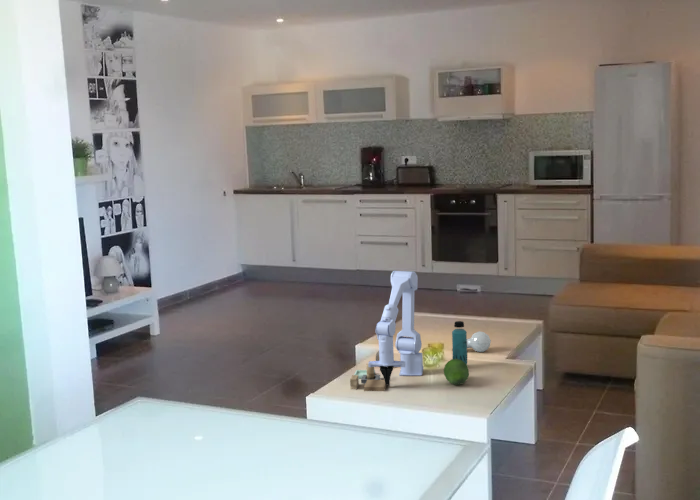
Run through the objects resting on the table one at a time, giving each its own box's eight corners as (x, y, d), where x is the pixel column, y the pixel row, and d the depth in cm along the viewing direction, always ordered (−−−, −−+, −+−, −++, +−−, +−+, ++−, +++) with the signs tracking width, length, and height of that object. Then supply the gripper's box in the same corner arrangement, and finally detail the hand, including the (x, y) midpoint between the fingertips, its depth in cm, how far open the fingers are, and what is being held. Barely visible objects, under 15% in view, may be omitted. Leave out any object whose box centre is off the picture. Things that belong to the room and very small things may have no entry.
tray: (375, 373, 343) (375, 370, 343) (372, 378, 335) (372, 375, 335) (356, 373, 344) (356, 370, 344) (353, 378, 337) (353, 375, 336)
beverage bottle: (450, 369, 345) (449, 323, 343) (454, 364, 351) (453, 319, 349) (465, 370, 343) (464, 323, 340) (469, 365, 349) (468, 320, 346)
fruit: (444, 377, 334) (443, 353, 332) (468, 377, 332) (467, 353, 331) (444, 388, 319) (443, 363, 317) (469, 388, 318) (469, 363, 316)
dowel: (375, 379, 334) (374, 363, 333) (374, 381, 331) (373, 365, 330) (367, 379, 335) (366, 363, 334) (366, 381, 332) (365, 365, 331)
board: (386, 384, 328) (386, 379, 328) (384, 392, 319) (384, 387, 318) (367, 384, 330) (367, 379, 329) (364, 391, 320) (364, 387, 320)
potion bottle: (492, 355, 369) (460, 358, 372) (491, 339, 376) (459, 342, 379) (490, 342, 363) (456, 346, 366) (488, 326, 370) (456, 329, 373)
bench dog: (358, 384, 328) (358, 375, 328) (356, 389, 322) (356, 379, 322) (352, 384, 329) (352, 375, 328) (350, 389, 323) (350, 379, 322)
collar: (380, 378, 336) (380, 374, 336) (378, 383, 329) (378, 379, 329) (363, 378, 337) (363, 374, 337) (361, 383, 330) (361, 379, 330)
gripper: (366, 353, 319) (368, 387, 320) (403, 353, 316) (404, 387, 318) (369, 349, 326) (370, 382, 327) (405, 349, 323) (406, 382, 325)
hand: (387, 384), depth 323 cm, fingers closed
